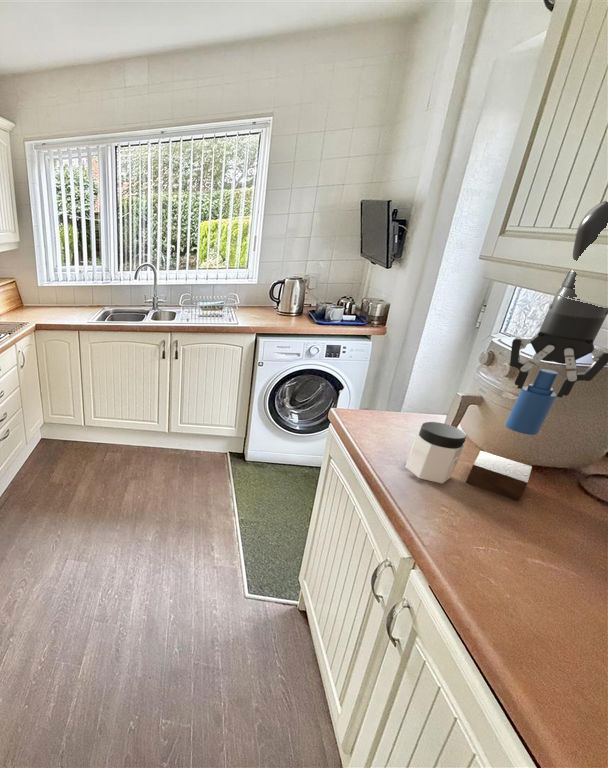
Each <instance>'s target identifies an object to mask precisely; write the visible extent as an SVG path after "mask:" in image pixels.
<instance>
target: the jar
mask: <svg viewBox="0 0 608 768" xmlns="http://www.w3.org/2000/svg"><path fill="white" fill-rule="evenodd" d="M466 438H467V434H466V433H465V432H464V431H463V430H462V429H460V428H458V427H456V426H453V425H450V424H447V423H443V422H437V421H426V422H424V423H422V424H421V427H420V429H419V432H418V434H417V435H416V436H415V438H414V441H413V444H412V447H411V450H410V453H409V456H408V458H407V461H406V464H405V468H406V469H407V470H408V471H409V472H411V474H413V475H414V476H415V477H416V478H418V479H420V480H424V481H429V482H433V483H438V484H442V485H443V484H445V482H447V481H448V480H449V479H451V478H452V476H453V474H454V472H455V468H456V466H457V463H458V461H459V459H460V457H461V455H462V452H463V449H464V447H465V442H466Z"/></svg>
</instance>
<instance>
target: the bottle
mask: <svg viewBox="0 0 608 768" xmlns="http://www.w3.org/2000/svg"><path fill="white" fill-rule="evenodd" d="M558 374H559V372H557V371H555V370H552V369H547V368H540V369H539V371H538V373H537V375H536V377H535V379H534V381H533V383H529V384H528V386H527V385H526V386H523V387H522V389H520V391H519V393H518V395H517V397H516V400H515V401H514V404H513V406H512V409H511V410H510V413H509V415H508V416H507V419H506V422H505V423H504V426H505V427H506V428H507V429H509V430H512V431H514V432H515V433H516V432H517V433H519V434H523V435H530V436H536V435H539V433H540V430H541V429H542V428H543V427H542V426H544V423H545V421H546V419H547V418H548V415H549V413H550V411H551V409H552V407H553V405H554V403H555V401H556V399H557V398H558V397H557V394H558V393H556V392H554V391H555V390H554V388H553V387H552V386H553V385H554V382H555V381H556V378H557V377H558Z"/></svg>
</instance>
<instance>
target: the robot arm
mask: <svg viewBox="0 0 608 768" xmlns="http://www.w3.org/2000/svg"><path fill="white" fill-rule="evenodd" d="M607 223H608V202H607V201H606V200H604V201H602V202H600V203H598V204H595V206H593V207H592V208H591V209H589V210H588V211H587V213H586V214H585V215H584V216H583V218H582V219H581V221H580V223H579V225H578V226H577V230H576V234H575V239H574V244H573V249H572V257H573V259H574V260H576V261H577V260H578V258H579V256H581V254H582V253H583V252H584V250H586V248H587V247H588V246H589V245H590V244H592V243H593V242H594V241H595V240H596V239H597V237H598V234H600V232H601V231H602V230H603V229H604V228H606V226H607ZM567 272H568V271H567ZM566 274H567V273H566ZM576 275H577V274H576V272H575V271H573V270H570V271H569V272H568V274H567V276H566V275H565V276H566V278H565V277H564V278H565V279H564V278H563V280H564V281H563V280H562V281H561V282H562V283H561V285H560V287H559V288H558V290H557V292H556V293H555V295H554V296H553V298H552V300H551V303H550V304H549V305H548V309H547V312H546V314H545V316H544V318H543V321H542V323H541V324H540V325H541V326H540V328H539V330H538V332H537V334H536V335H534V336H533V337H531V338H529V337H527V338H526V337H524V338H523V337H520V336H516V337H514V338H513V339H512V341H511V351H510V360H509V366H510V367H512V368H516V369H517V370H519V371H518V374H517V376H516V379H515V381H514V386H517V387H516V388H517V389H519V390H521V389H522V387H524V385H525V383H526V380H527V378H528V376H529V374H530V371H531V369H532V368H533V367H535V366H536V365H537V364H539V362H541V361H543V362H555V363H557V364H561V365H565V369H566V377H565V378H564V380H563V382H562V384H561V386H560V387H559V390H558V392H557V393H556V394H557V397H556V398H561V399H562V398H563V396H566V397H567V396H568V395H570V394H571V391H572V389H573V387H574V385H575V383H576V382H580V381H585V382H590V381H592V380H593V379H594V378H595V377H596V376H597V374H599V372H601V370H602V369H603V368H605V366H606V365H607V364H608V350H602V349H599V348H596V347H595V345H594V341H595V340H596V338H597V336H598V334H599V332H600V330H601V328H602V327H603V324H604V322H605V320H606V318H607V316H608V308H603V307H598V306H595V305H592V304H588V303H583V302H580V301H575V300H571V299H567V298H565V297H568V296H569V298H572V299H575V298H573V297H577V295H576V294H575V289H573V288H575V285H574V283H575V281H576V280H575V277H576ZM556 294H557V295H561V294H562V295H561V296H564V297H560V296H556ZM577 300H580V299H577ZM527 345H531V346H532V348H533V350H534V352H535V353H534V354H533V355H532V356H531V357H529V358H528V360H527V361H525V362H523V361H522V360H521V352H522V351H521V350H524V349H526V348H527ZM589 354H591V355H592V357H591V359H592V361H593V363H591V365H590V366H589V367H588V368H587V369H586V370H585V371H584V372H578V369H577V361H578V360H579V359H582V358H584V357H585V356H587V355H589Z"/></svg>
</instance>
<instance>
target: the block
mask: <svg viewBox="0 0 608 768" xmlns="http://www.w3.org/2000/svg"><path fill="white" fill-rule="evenodd" d="M532 471H533V466H531V465H529V464H525V463H521V462H519V461H516V460H513V459H509V458H507V457H506V458H505V457H503V456H499V455H496V454H493V453H490V452H486V451H484V450H479V452H478V454H477V456H476V458H475V460H474V461H473V465H472V466H471V469H470V472H469V473H468V476H467V478H466V480H465V483H466V484H469V485H471V486H474V487H477V488H480V489H483V490H486V491H488V492H492V493H494V494H496V495H499V496H502V497H505V498H507V499H511V500H513V501H517V502H519V501H520V499H521V498H522V495H523V494H524V492H525V490H526V488H527V486H528V483H529V480H530V476H531V473H532Z"/></svg>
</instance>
